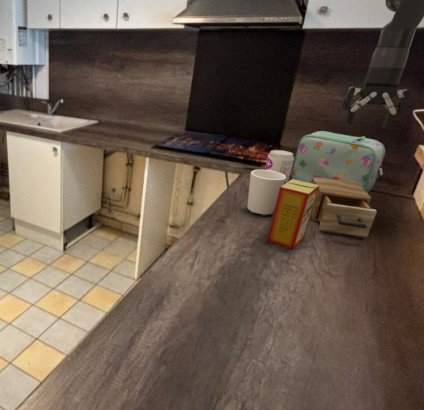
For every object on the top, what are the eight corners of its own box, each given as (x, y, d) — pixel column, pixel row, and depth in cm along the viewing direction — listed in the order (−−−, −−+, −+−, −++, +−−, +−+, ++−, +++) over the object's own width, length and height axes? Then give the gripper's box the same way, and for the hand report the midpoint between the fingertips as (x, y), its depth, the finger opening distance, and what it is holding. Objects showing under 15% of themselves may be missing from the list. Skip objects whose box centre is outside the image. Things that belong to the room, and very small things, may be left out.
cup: (247, 203, 121) (254, 167, 116) (278, 210, 116) (288, 173, 111) (239, 213, 114) (247, 175, 109) (273, 221, 109) (283, 182, 103)
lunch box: (376, 198, 127) (398, 139, 118) (363, 204, 122) (386, 142, 113) (299, 177, 147) (313, 125, 139) (286, 182, 142) (300, 128, 133)
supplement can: (261, 194, 129) (270, 154, 123) (259, 187, 136) (267, 148, 130) (286, 198, 126) (296, 156, 120) (282, 190, 133) (292, 151, 127)
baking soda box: (292, 249, 93) (308, 192, 87) (266, 240, 97) (280, 185, 91) (304, 237, 99) (320, 183, 93) (279, 229, 104) (293, 177, 97)
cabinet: (360, 228, 105) (371, 198, 101) (311, 220, 110) (320, 191, 106) (348, 209, 118) (357, 182, 114) (304, 203, 122) (312, 176, 118)
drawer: (372, 245, 94) (383, 218, 91) (322, 236, 98) (331, 210, 95) (354, 217, 110) (362, 194, 107) (311, 211, 114) (318, 188, 111)
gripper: (413, 66, 97) (392, 126, 103) (351, 64, 102) (334, 122, 108) (425, 67, 90) (402, 131, 97) (358, 65, 95) (340, 126, 102)
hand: (366, 126), depth 103 cm, fingers open, 8 cm apart
